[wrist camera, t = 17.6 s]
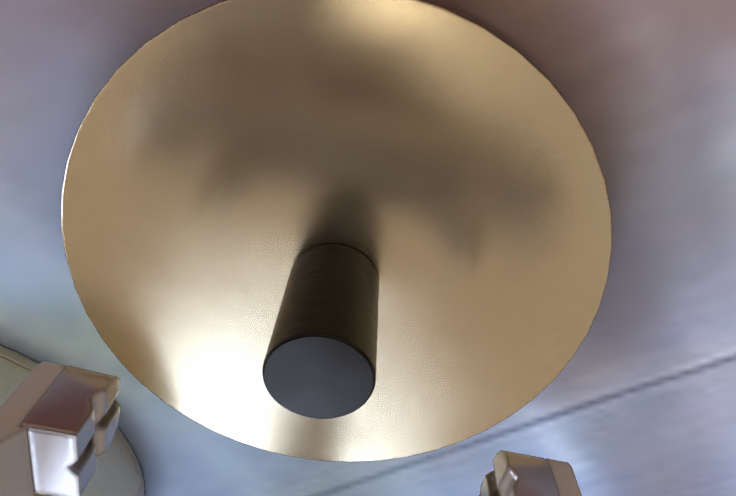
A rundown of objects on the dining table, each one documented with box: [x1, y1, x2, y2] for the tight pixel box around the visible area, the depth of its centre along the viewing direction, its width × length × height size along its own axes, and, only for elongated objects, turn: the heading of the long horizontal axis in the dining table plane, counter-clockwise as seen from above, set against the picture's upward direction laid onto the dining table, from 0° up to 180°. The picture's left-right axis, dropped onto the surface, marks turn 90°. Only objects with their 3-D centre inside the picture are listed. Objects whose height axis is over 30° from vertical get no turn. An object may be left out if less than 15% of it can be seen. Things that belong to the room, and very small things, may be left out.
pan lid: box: [61, 0, 612, 462], centre depth 15 cm, size 16×16×5 cm
